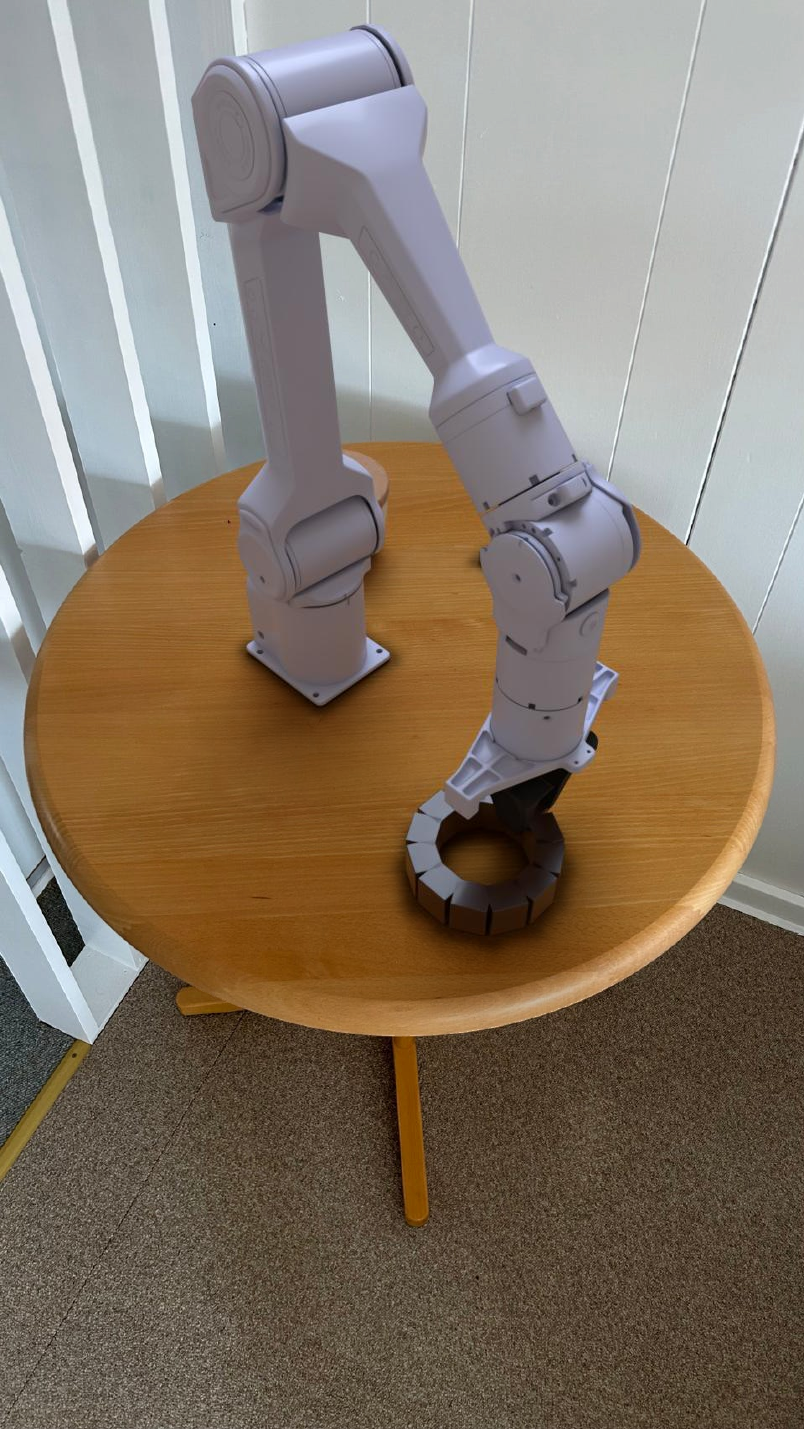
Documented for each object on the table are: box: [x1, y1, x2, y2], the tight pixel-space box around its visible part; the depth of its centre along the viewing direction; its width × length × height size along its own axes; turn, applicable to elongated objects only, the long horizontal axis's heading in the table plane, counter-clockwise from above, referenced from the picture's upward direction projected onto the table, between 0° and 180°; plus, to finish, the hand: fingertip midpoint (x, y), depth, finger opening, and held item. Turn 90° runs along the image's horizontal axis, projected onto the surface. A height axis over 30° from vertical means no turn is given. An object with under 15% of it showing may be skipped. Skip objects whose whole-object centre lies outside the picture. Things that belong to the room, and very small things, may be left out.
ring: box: [404, 788, 567, 937], centre depth 65 cm, size 10×10×3 cm
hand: (524, 813), depth 67 cm, fingers closed on ring, 2 cm apart
